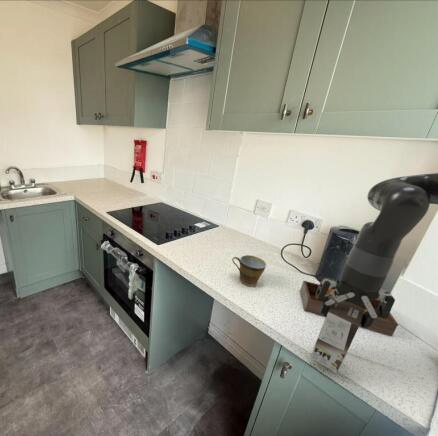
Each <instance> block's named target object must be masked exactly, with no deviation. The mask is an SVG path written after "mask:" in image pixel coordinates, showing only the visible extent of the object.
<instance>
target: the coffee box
mask: <svg viewBox="0 0 438 436" xmlns="http://www.w3.org/2000/svg"><path fill="white" fill-rule="evenodd" d="M364 311H365V309H363V308H361V307H359V306H357V305H354V304H352V303H349V302H345V301H344V300H343V301H341V302H339V303H334V304H332V306H331V307H330V309H329V311H328V314H327V316H326V317H325V319H324V321H323V324H322V326H321V329H320V331H319V334H318V336H317V338H316V341H315V344H314V346H313V348H312V351H311V354H310V355H309V357H310V358H311V359H312V360H314V361H315V362H317V363H319V365H322V366H323V367H325V368H327V369H328V370H330V371H332V372H333V373H335V374H337V373H338V371H339V369H340V368H341V366H342V363H343V361H344V359H345V357H346V355H347V353H348V351H349V350H350V347H351V346H352V343H353V340H354V338H355V336H356V334H357V332H358V330H359V328H360V327H359V326H360V323H361V320H362V317H363V314H364Z"/></svg>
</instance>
